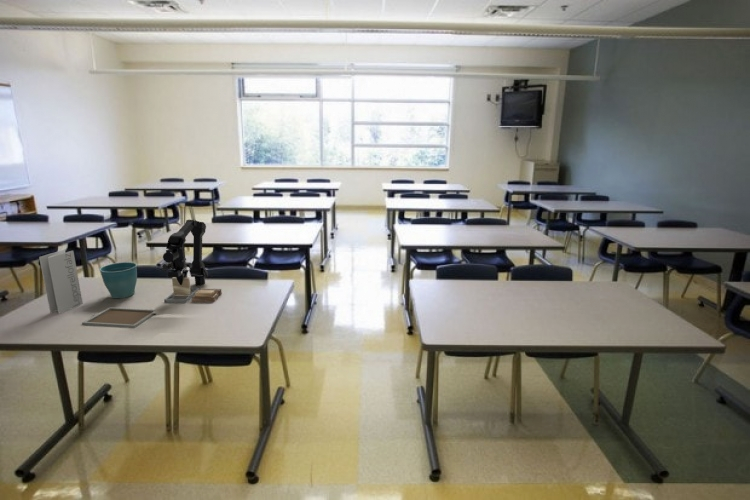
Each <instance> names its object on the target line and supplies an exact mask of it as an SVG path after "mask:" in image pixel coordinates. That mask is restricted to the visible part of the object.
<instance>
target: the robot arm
mask: <svg viewBox="0 0 750 500" xmlns="http://www.w3.org/2000/svg"><path fill="white" fill-rule="evenodd" d="M206 229H207V225H206V223H205V222H204V221H198V220H196V219H186V220H185V223H184V224H183V225H182V226H181V228H180V229H179V230H178V231H176V232H174V233H172V234H170V235H169V237H168V238H167V239H168V240H167V244H166V250H165V252H164V253H163V254H162V259H163V261H164V262H165V263H163V264H162V266H161V267H162V268H161V269H162V270H164V271H165V272H167V273H166V277H167V278H173V277H176V278H177V280H178V282H179V284H180V285H182V283H183V278H184V277H187V275H188V272H189V274H190V275H189V276H190V278H194V283H195V286H202V285H206V284H205V283H206V278H208V276H209V270H207V269H206V265H205V263H204V262H203V236H204V235H205V233H206ZM190 233H191V235H192V236H193V241H192V242H193V244H192V245H193V247H192V249H193V254H192V261H191V262H187V261H186V260H187V258H186V257H185V252H184V249H185V248H186V246H185V244H186V241H187V240H186V238H187V236H189V234H190ZM187 268H189V270H188V269H187ZM170 269H171V270H170ZM168 270H169V271H168Z"/></svg>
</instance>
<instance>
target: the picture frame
mask: <svg viewBox="0 0 750 500" xmlns="http://www.w3.org/2000/svg"><path fill="white" fill-rule="evenodd" d="M155 311H156V309H143V308H130V307H129V308H128V307H127V308H126V307H125V308H124V307H112V306H111V307H107V308H105V309H104V310H101V312H98V313H95V314H91V315H90V317H89V318H88V319H86V320H84V321H82V322H81V325H85V326H103V327H115V328H116V327H117V328H119V327H120V328H137V327H139V326H141V325H142V324H143V323H145V322H146V321H147V320H149V319H151V318H152V317H153V316H155V315H156V314H157V313H153V312H155Z"/></svg>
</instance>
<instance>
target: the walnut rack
mask: <svg viewBox="0 0 750 500" xmlns="http://www.w3.org/2000/svg"><path fill="white" fill-rule="evenodd" d="M200 290H208V291H214V293H215V295H214V296H213V297H196V296H195V295H193V296H192V298H191V301H192V302H194V303H195V302H200V303H201V302H208V303H211V302H212V303H215V302H216V301H217V300H218V298H220V297H221V296H222V288H200Z"/></svg>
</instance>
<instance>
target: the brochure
mask: <svg viewBox="0 0 750 500" xmlns="http://www.w3.org/2000/svg"><path fill="white" fill-rule="evenodd" d="M38 258H39V263H40V268H41V272H42V278H43V279H42V280H43V284H44V288H45V294H46V299H47V304H48V308H49V313H50V314H51V313H55V312H56V311H57V312H58V314H59V315H61V314H62V313H65V312H67V311H69V310H72V309H74V308H76V307H79V306H82V305H83V297H82V291H81V285H80V280H79V275H78V270H77V263H76V259H75V252H74V250H70V251H67V252H66V249H63V250H58V251H56V252H52V253H48V254H45V255H42V256H39V257H38Z"/></svg>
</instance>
